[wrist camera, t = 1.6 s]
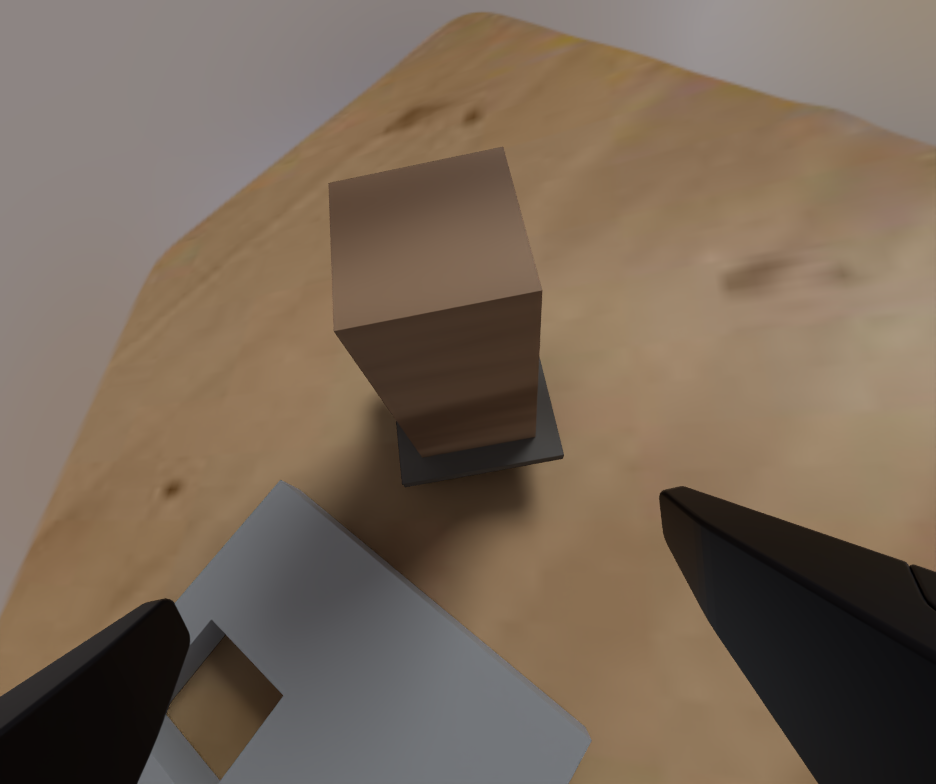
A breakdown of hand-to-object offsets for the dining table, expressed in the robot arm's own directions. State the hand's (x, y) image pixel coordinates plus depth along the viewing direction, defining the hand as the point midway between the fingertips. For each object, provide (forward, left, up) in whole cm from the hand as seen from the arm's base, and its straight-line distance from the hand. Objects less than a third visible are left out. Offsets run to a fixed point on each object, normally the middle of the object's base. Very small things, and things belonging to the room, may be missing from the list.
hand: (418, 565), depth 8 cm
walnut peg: (+5, -6, -13) cm, 16 cm away
